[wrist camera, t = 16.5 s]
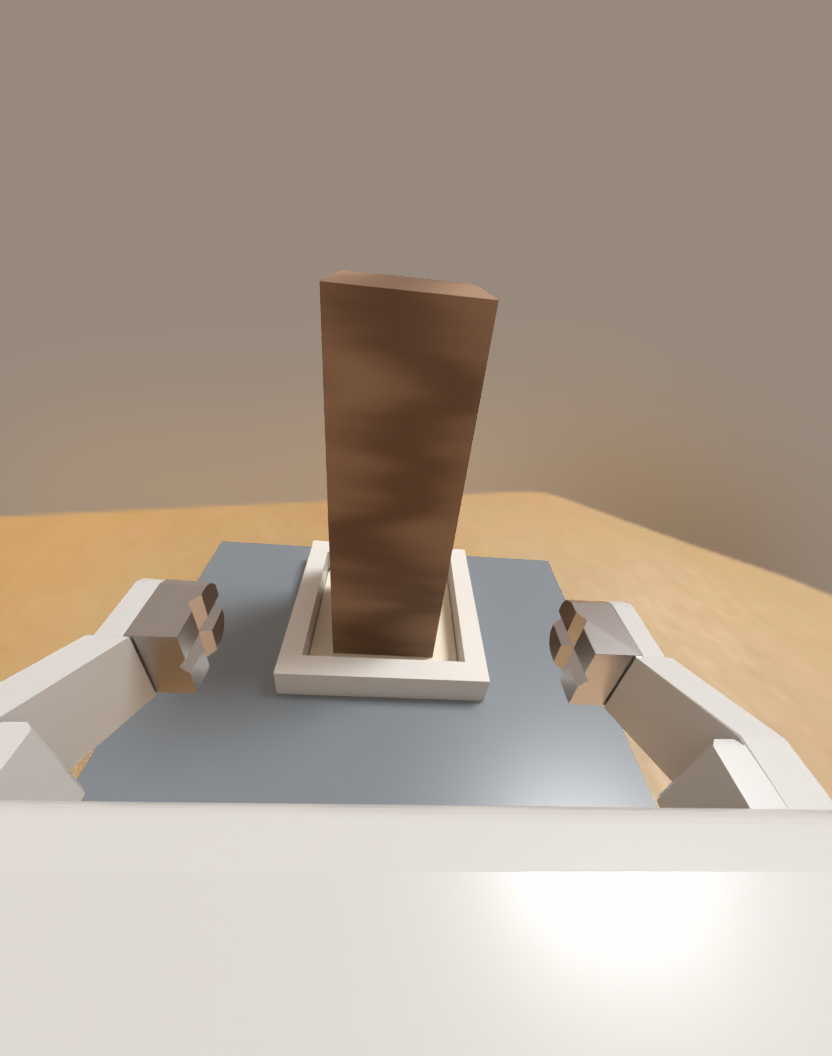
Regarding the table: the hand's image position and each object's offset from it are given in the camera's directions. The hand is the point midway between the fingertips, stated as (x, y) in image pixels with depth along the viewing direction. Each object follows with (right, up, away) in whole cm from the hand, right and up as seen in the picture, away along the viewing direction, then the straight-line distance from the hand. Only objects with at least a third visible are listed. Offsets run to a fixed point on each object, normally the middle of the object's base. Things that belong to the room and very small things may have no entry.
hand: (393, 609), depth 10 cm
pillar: (-1, -3, +13) cm, 13 cm away
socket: (-1, -4, +13) cm, 14 cm away
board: (-1, -5, +12) cm, 13 cm away
